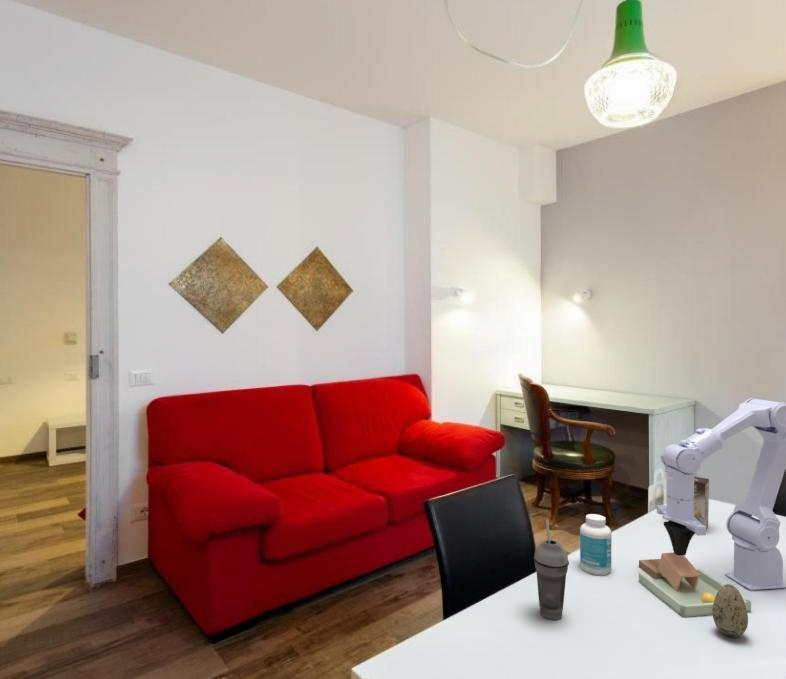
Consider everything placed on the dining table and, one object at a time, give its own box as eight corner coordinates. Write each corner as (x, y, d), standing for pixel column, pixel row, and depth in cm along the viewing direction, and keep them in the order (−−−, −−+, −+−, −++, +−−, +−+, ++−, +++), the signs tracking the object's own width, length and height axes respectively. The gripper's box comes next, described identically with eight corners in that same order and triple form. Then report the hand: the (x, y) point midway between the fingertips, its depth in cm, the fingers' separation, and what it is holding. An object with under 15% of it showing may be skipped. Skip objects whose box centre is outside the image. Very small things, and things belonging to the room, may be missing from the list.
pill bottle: (614, 578, 127) (614, 523, 126) (582, 575, 128) (582, 521, 128) (607, 564, 134) (608, 512, 134) (578, 562, 135) (578, 511, 135)
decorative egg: (740, 647, 99) (740, 595, 99) (707, 632, 103) (707, 583, 103) (752, 636, 102) (753, 586, 102) (719, 623, 107) (720, 575, 107)
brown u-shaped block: (681, 552, 125) (700, 574, 119) (676, 568, 127) (695, 591, 120) (662, 553, 124) (680, 575, 118) (657, 569, 126) (675, 592, 120)
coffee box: (670, 529, 158) (670, 477, 158) (675, 523, 163) (675, 472, 162) (704, 537, 152) (705, 482, 152) (709, 530, 157) (709, 478, 156)
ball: (722, 604, 111) (714, 609, 113) (715, 590, 113) (707, 594, 115) (710, 605, 110) (702, 610, 112) (702, 590, 112) (695, 595, 114)
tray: (699, 578, 127) (699, 569, 127) (751, 611, 111) (751, 601, 111) (638, 582, 125) (638, 573, 124) (682, 617, 109) (682, 607, 109)
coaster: (664, 566, 133) (664, 558, 133) (682, 579, 126) (682, 571, 126) (638, 567, 132) (638, 560, 132) (656, 581, 125) (656, 572, 125)
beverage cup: (550, 626, 106) (551, 529, 106) (526, 609, 112) (526, 518, 112) (576, 617, 109) (576, 523, 109) (551, 601, 116) (551, 512, 115)
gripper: (645, 488, 128) (645, 542, 128) (685, 508, 114) (685, 569, 114) (671, 487, 129) (671, 541, 129) (714, 506, 115) (714, 567, 115)
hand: (679, 554), depth 122 cm, fingers closed
